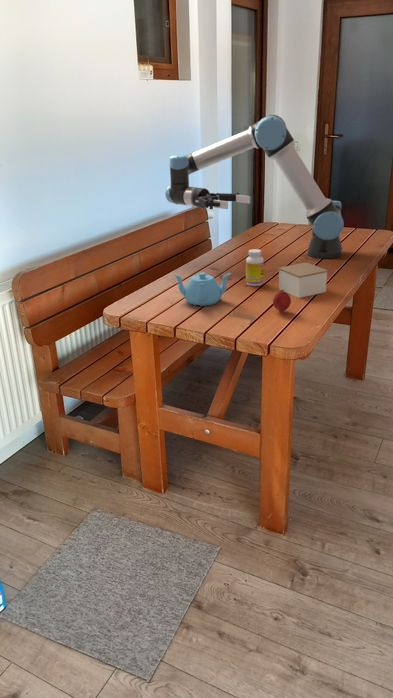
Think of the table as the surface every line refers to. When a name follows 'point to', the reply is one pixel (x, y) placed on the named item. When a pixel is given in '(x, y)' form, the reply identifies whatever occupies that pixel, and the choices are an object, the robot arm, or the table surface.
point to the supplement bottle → (254, 268)
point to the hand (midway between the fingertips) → (238, 202)
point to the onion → (281, 301)
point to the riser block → (302, 279)
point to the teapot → (202, 289)
